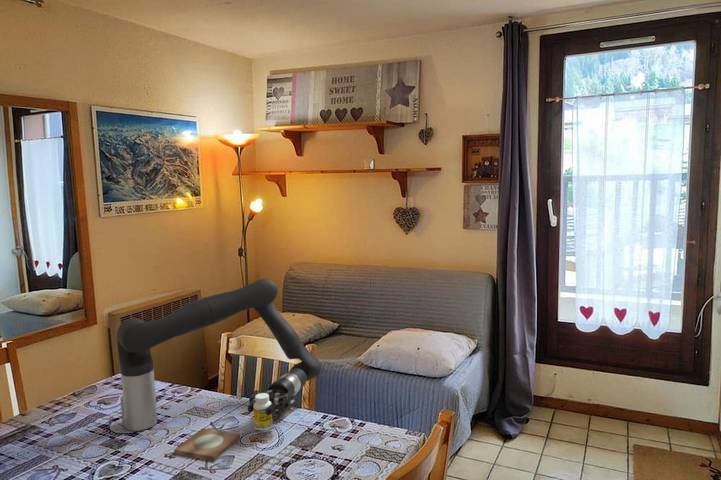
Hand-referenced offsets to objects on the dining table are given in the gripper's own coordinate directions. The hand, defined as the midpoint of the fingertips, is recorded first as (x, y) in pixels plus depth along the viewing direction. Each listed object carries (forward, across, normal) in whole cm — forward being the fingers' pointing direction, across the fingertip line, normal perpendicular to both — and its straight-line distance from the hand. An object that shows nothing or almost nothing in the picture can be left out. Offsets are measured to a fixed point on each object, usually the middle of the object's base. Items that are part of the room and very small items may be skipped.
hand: (258, 410), depth 153 cm
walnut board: (+8, -12, +8) cm, 17 cm away
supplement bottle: (-3, 0, +6) cm, 7 cm away
